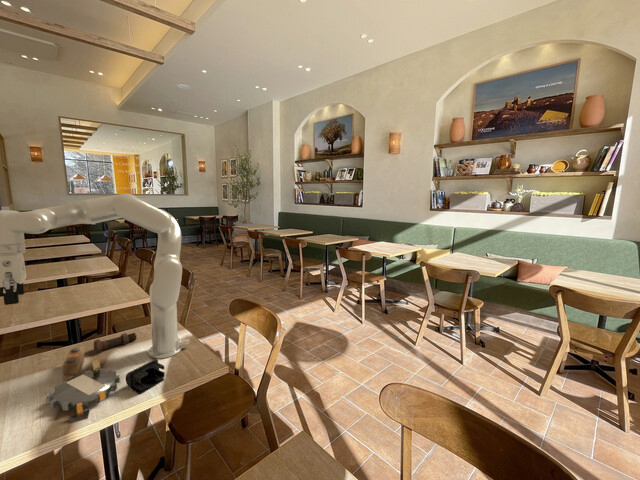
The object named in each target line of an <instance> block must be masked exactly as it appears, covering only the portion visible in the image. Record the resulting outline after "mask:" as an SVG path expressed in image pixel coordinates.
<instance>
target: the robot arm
mask: <svg viewBox="0 0 640 480" xmlns="http://www.w3.org/2000/svg"><path fill="white" fill-rule="evenodd" d="M117 219H123V220H125V221H128V222H130V223H132V224H135V225H137V226H139V227H141V228H143V229H145V230H147V231H150V232H151V233H152V232H153V233H155V234H157V245H156V246H157V248H156V255H155V259H154V262H153V269H154V273H153V281H152V283H151V284H150V287H149V293H148V294H149V304H150V325H151V328H150V329H151V344H152V345H151V347H150V348H149V349H148V351H147V352H148V356H149V357H150V358H153V359H166V358H170V357H173V356H175V355H177V354H179V353H180V352H181V350H182V349H183V345H188V344H189V345H190V338H186V337H182V338H180V337H179V335H178V316H177V315H178V312H177V311H178V309H177V306H178V305H177V301H178V300H179V297H180V291H181V283H182V279H183V278H182V276H183V266H182V263H181V261H180V256H181V249H182V230H181V227H180V225H179V223H178V221H177V220H176V218H175V217H174V216H173V215H172V214H171V213H169V212H167V211H166V210H164V209H161V208H157V207H155V206H153V205H151V204H149V203H147V202H145V201H143V200H141V199H139V198H138V197H137V196H136V195H134V194H131V193H120V194H114V195H108V196H103V197H97V198H96V197H95V198H91V199H90V198H89V199H83V200H79V201H77V202H73V203H68V204H63V205H62V204H61V205H57V206H55V205H54V206H50V207H44V208H38V209H34V210H29V211H17V210H13V209H11V210H10V209H6V210H5V209H4V210H3V209H1V210H0V285H1V286H3V291H2V296H3V297H2V298H3V303H4V305H6V306H9V305H17V304H19V303H20V300H19V299H20V298H19V296H22V295H24V294H25V286H24V282H25V280H26V279H27V270H26V264H25V258H24V254H25V253H27V250H26V249H27V248H26V242H25V234H30V235H31V234H32V235H34V234H35V235H39V234H40V235H41V234H43V233H45V232H47V231H49V230H52V229H58V228H62V227H68V226H72V225H73V226H75V225H80V224H82V225H83V224H84V225H93V224H99V223H103V222H108V221H113V220H117Z"/></svg>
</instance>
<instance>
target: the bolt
mask: <svg viewBox="0 0 640 480" xmlns="http://www.w3.org/2000/svg"><path fill="white" fill-rule="evenodd" d="M137 336H138V335H137V334H136V332H131V333H128V334H127V332H126V333H125V332H123V333H121V335H120V336H118V337H114V338H109V339H107V340H102V341H101V340H100V339H95V340H94V342H93V350H94V352H95V354H101V353H102V351H103V350H106V349H109V348H113V347H116V346H118V345H123V346H125V345H128V344H129V343H130V342H133V341H136V340H137V339H138V337H137Z"/></svg>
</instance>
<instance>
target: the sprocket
mask: <svg viewBox="0 0 640 480" xmlns="http://www.w3.org/2000/svg"><path fill="white" fill-rule="evenodd" d="M120 378H121V377H120V375H119V374H118V375H117V370H115V369H112V370H110V371H109V370H107V368H101V360H100V359H94V360H92V370H90V369H88V370H85V371H84V372H83V373H80V375H77V376H71V377H68V380H67V381H63V382H62V383H57V384H56V385H54V386H53V387H54V388H53V390H54V391H52V392H49V393H48V396H47V398H48V402H49V403H50V408H52V409H55V408H58V407H59V408H61V410H62V411H69V410H70V409H72V408H77V403H81V402H82V403H83V408H86V407H89V406H88V405H90V404H92V403H94V402H97V401H99V402H101V401H103V400H105V399H106V397H107V395H108V394H109V393H111V392H115V391H116V390H117V389H118V385H117V384H120V382H121V381H120Z"/></svg>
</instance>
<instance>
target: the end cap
mask: <svg viewBox="0 0 640 480" xmlns="http://www.w3.org/2000/svg"><path fill="white" fill-rule="evenodd" d="M158 359H159V358H153V359H151V360H150V361H148V362H146V363H144V364H143V365H141V366H138V367H136V368H134V369H133V370H131V371H129V372H127V373H126V374H125V383H126V386H127V387H128V388H129V389H130V390H131V391H132V392H134V393H136V394H138V395H142V394H144V393H145V392H147V391H148V390H151V389H153V388H154V387H155V386H157V385H159V384H160V383H162V382H164V381H165V379H164V378H165V372H164V371H163V370H165V365H163V364H161V363H159V360H158ZM160 369H161V370H162V371H161V370H160Z"/></svg>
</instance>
